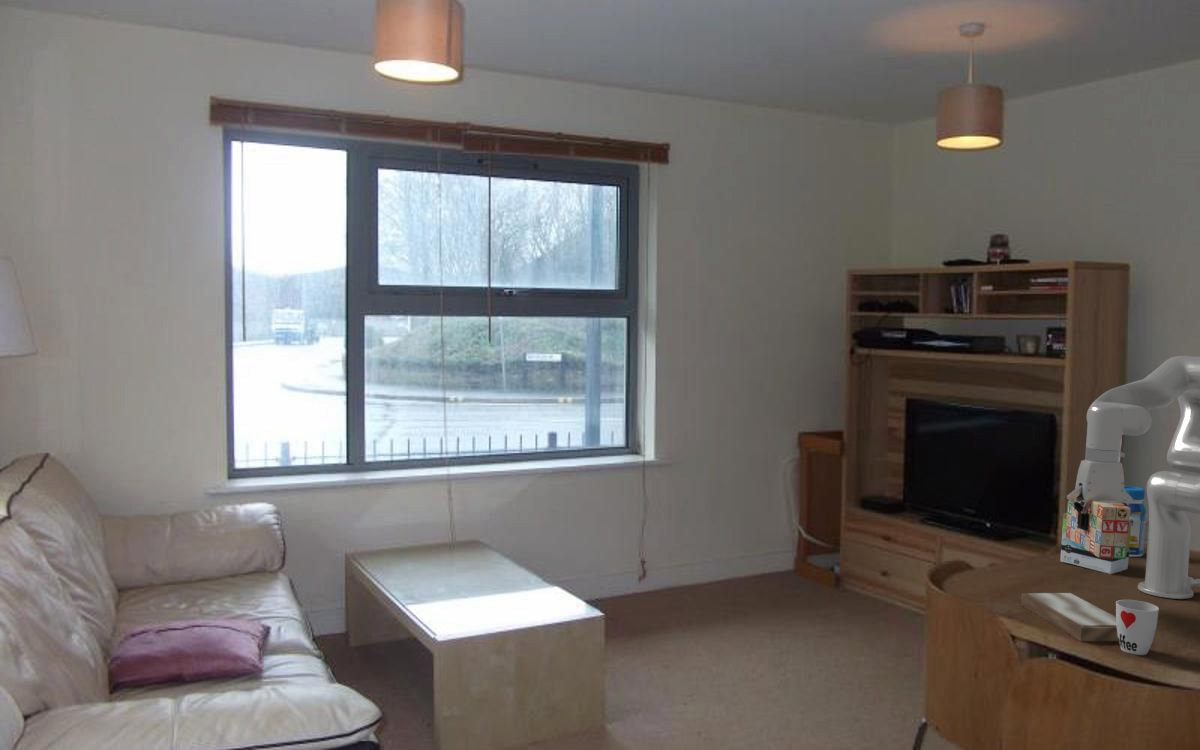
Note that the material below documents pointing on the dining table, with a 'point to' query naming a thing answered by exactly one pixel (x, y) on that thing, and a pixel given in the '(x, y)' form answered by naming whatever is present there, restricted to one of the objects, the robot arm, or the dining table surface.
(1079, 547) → the tea box
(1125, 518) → the stack of blocks
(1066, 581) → the dining table surface
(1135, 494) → the beverage bottle
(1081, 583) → the dining table surface
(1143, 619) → the cup
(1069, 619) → the picture frame
